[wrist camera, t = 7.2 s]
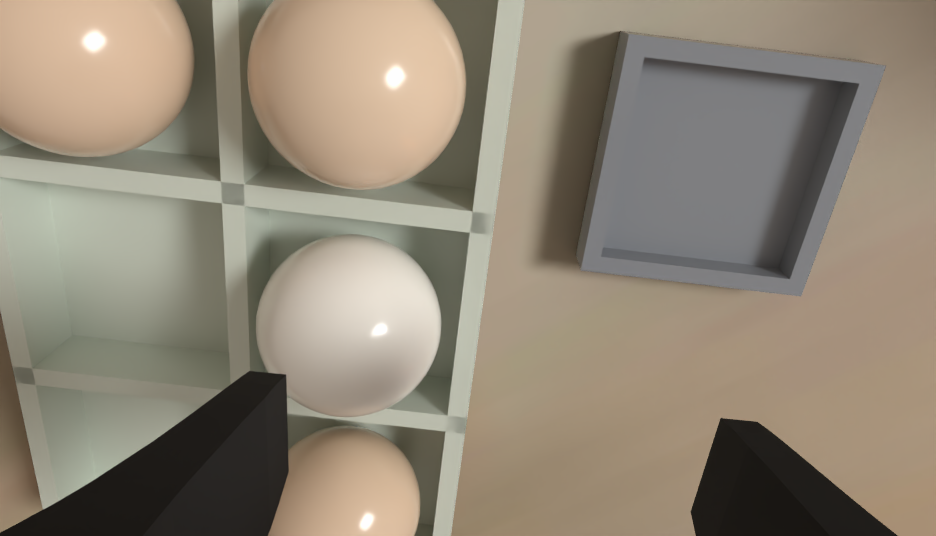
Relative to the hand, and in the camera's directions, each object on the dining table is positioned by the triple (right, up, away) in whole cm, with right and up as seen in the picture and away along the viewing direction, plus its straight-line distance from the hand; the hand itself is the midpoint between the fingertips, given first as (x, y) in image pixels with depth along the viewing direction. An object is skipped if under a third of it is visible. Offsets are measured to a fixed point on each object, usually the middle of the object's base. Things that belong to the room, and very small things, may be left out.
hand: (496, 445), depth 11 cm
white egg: (-4, +2, +9) cm, 10 cm away
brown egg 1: (-9, +9, +6) cm, 15 cm away
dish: (+7, +6, +8) cm, 12 cm away
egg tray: (-7, +3, +10) cm, 12 cm away
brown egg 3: (-4, -4, +12) cm, 13 cm away
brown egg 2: (-3, +8, +7) cm, 11 cm away
